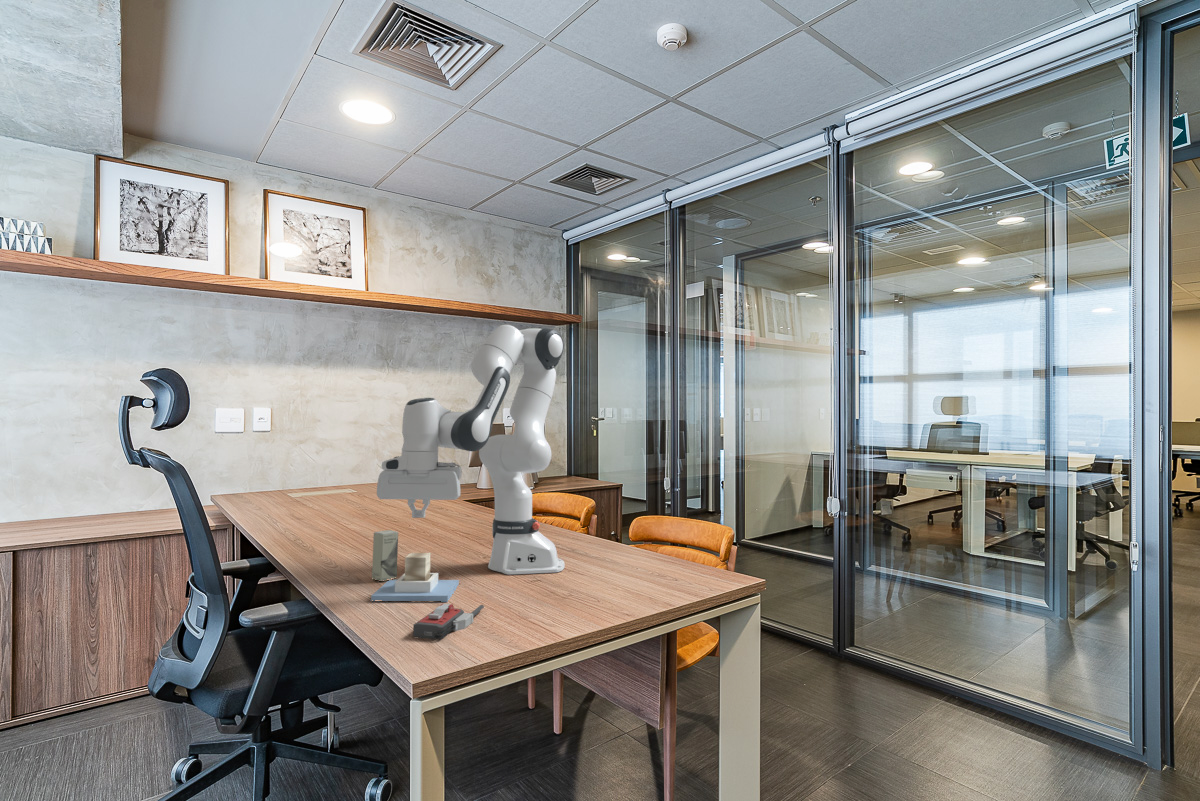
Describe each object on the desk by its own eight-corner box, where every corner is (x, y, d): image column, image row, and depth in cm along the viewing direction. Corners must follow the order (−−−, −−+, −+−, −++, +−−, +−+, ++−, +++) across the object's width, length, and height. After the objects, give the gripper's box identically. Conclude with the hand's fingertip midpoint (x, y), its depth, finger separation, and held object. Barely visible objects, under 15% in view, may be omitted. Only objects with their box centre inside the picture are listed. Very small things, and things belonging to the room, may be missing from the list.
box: (380, 582, 160) (381, 534, 160) (371, 580, 162) (372, 532, 163) (398, 578, 164) (399, 531, 164) (388, 576, 166) (389, 529, 167)
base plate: (458, 585, 158) (459, 570, 158) (447, 602, 144) (447, 585, 144) (389, 585, 157) (389, 570, 157) (371, 602, 143) (371, 585, 143)
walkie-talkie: (448, 645, 118) (486, 612, 138) (449, 622, 118) (487, 593, 138) (407, 641, 120) (450, 609, 139) (408, 618, 120) (451, 590, 140)
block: (429, 584, 153) (430, 553, 153) (424, 590, 148) (425, 557, 148) (409, 584, 153) (410, 552, 153) (404, 590, 148) (405, 557, 148)
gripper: (463, 461, 155) (462, 515, 155) (383, 460, 154) (381, 515, 154) (459, 463, 149) (458, 519, 148) (375, 462, 148) (373, 519, 147)
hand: (418, 517), depth 151 cm, fingers closed
